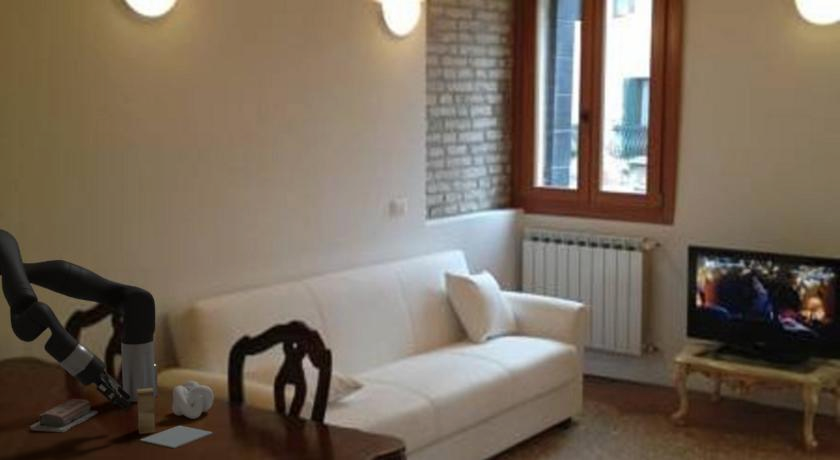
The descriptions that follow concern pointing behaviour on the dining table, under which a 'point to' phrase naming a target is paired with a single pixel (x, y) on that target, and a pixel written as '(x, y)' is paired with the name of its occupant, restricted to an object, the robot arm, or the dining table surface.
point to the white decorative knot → (191, 399)
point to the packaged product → (64, 416)
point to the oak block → (146, 410)
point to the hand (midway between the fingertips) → (128, 404)
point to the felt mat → (176, 436)
